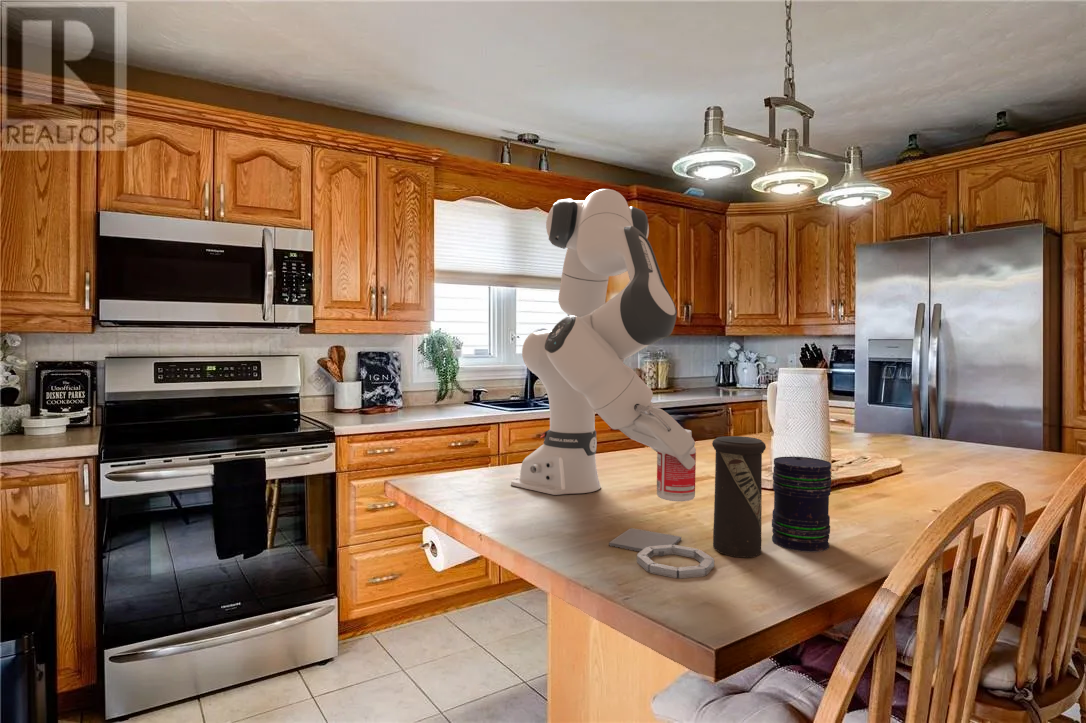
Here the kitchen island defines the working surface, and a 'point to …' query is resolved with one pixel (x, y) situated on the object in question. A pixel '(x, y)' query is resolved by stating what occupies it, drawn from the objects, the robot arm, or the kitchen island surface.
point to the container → (738, 495)
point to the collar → (671, 571)
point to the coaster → (643, 540)
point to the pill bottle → (675, 477)
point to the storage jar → (801, 503)
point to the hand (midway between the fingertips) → (679, 460)
